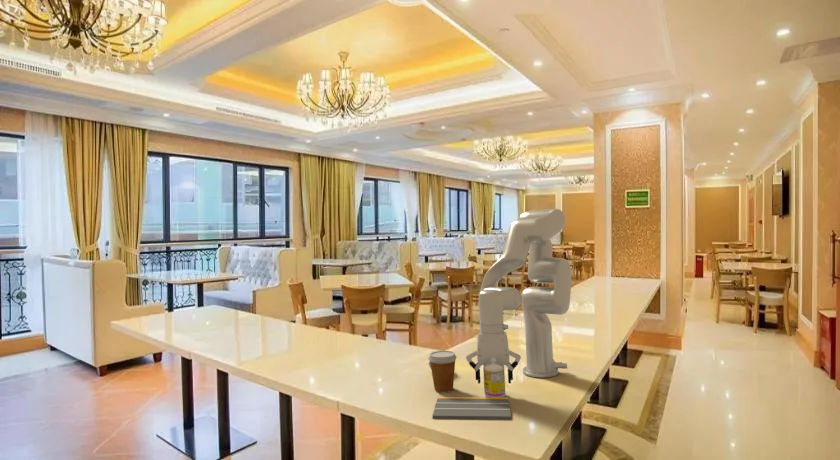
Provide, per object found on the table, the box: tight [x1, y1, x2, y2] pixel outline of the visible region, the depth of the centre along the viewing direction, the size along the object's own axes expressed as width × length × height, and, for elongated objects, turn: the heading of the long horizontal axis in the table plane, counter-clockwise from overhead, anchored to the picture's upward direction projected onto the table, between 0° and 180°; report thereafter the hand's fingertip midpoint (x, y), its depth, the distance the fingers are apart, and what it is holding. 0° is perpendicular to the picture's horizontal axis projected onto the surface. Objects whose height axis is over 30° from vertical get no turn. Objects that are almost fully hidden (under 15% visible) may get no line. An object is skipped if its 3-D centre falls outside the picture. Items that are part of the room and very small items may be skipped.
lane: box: [432, 396, 512, 420], centre depth 134 cm, size 22×15×1 cm
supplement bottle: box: [482, 358, 506, 397], centre depth 144 cm, size 7×7×13 cm
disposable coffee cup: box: [427, 350, 457, 393], centre depth 153 cm, size 10×10×12 cm
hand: (494, 382), depth 144 cm, fingers open, 9 cm apart
